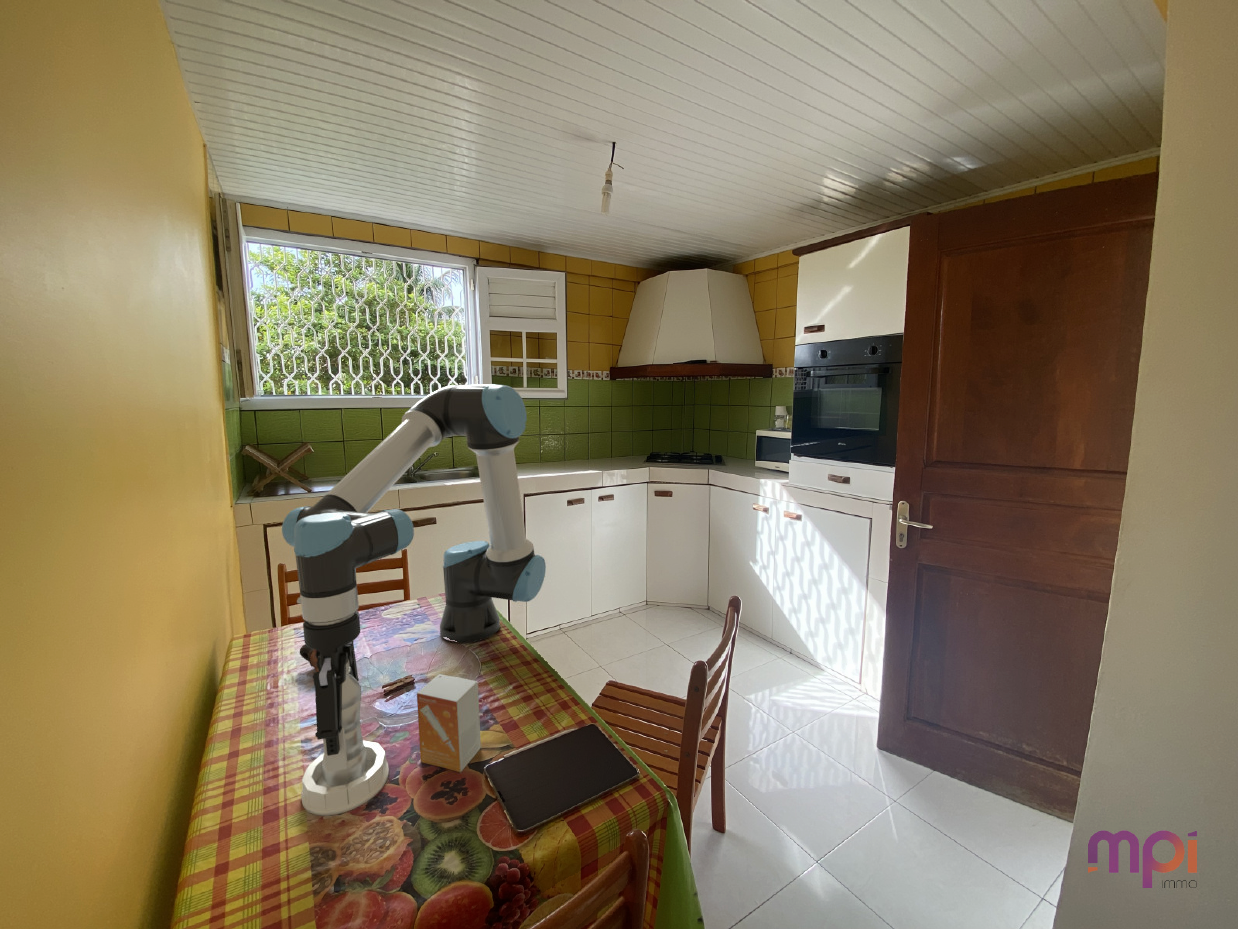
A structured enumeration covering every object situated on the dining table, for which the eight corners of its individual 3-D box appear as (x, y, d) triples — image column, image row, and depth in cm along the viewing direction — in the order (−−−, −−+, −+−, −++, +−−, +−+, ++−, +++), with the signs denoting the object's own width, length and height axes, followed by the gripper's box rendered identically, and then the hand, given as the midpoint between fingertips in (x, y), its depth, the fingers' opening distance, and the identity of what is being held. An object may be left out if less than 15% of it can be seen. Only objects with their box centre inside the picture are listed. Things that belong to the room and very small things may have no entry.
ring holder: (394, 750, 90) (392, 733, 89) (382, 805, 78) (380, 785, 77) (314, 764, 86) (313, 747, 86) (289, 824, 74) (287, 804, 74)
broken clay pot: (362, 657, 122) (360, 636, 117) (342, 694, 114) (340, 673, 110) (310, 647, 121) (307, 625, 116) (287, 683, 113) (282, 662, 108)
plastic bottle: (338, 801, 77) (327, 678, 75) (314, 783, 81) (303, 666, 78) (377, 774, 83) (368, 659, 80) (353, 758, 86) (344, 648, 84)
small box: (419, 763, 86) (415, 692, 85) (443, 739, 92) (439, 672, 91) (460, 774, 84) (456, 701, 82) (482, 748, 90) (478, 680, 88)
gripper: (322, 592, 87) (334, 715, 90) (278, 651, 67) (295, 806, 70) (370, 587, 89) (380, 707, 92) (342, 643, 69) (355, 794, 72)
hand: (343, 750), depth 81 cm, fingers open, 8 cm apart
